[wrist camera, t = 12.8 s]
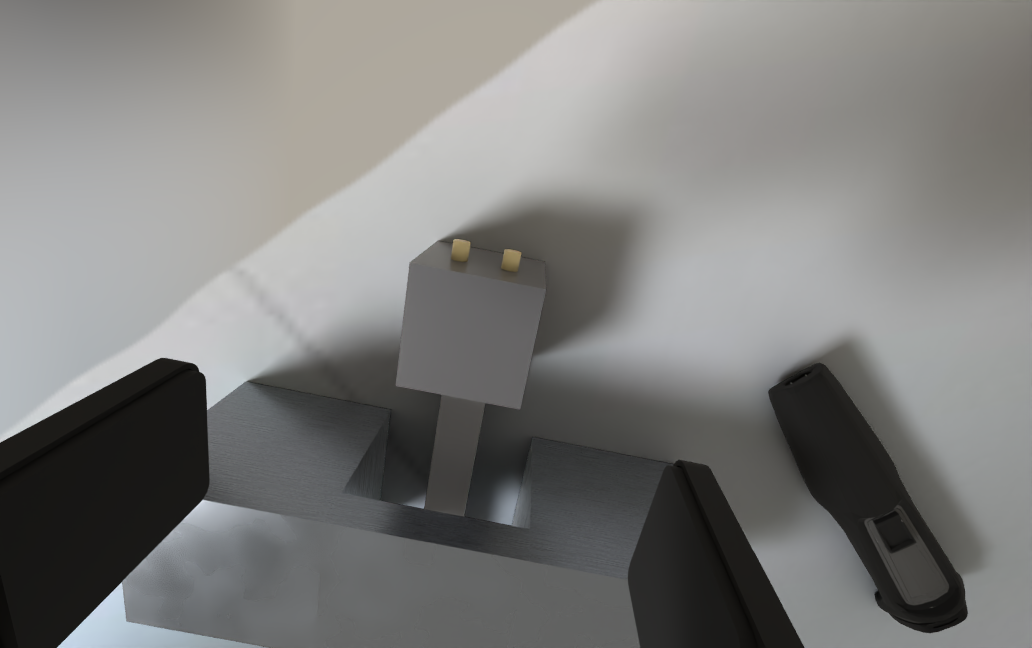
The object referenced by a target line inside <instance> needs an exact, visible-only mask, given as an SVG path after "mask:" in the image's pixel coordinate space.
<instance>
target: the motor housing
mask: <svg viewBox="0 0 1032 648" xmlns="http://www.w3.org/2000/svg"><path fill="white" fill-rule="evenodd" d="M390 414H391V409H386V408H380V407H375V406H370V405H365V404H360V403H355V402H349V401H344V400H339V399H334V398H329V397H324V396H318V395H313V394H308V393H303V392H298V391H293V390H287V389H282V388H277V387H272V386H267V385H262V384H256V383H251V382H245V383H243V384H242V385H241V386H239V387H238V388H237V389H235V390H234V391H233V392H231V393H230V394H229V395H227V396H226V397H225V398H223V399H222V400H221V401H219V402H218V403H217V404H215V405H214V406H213V407H211V408H210V409H209V410H207V426H208V451H209V477H210V483H209V488H208V491H207V493H206V495H205V497H204V499H203V500H202V501H201V502H200V503H199V504H198V505H197V506H196V507H195V508H194V509H193V510H192V511H191V512H190V513H189V514H188V515H187V516H186V517H185V518H184V520H183V521H182V522H181V523H180V524H179V525H178V526H177V527H176V528H175V529H174V530H173V531H172V532H171V533H170V534H169V535H168V536H167V537H166V538H165V539H164V540H163V541H162V542H161V543H160V544H159V545H158V546H157V547H156V548H155V549H154V550H153V551H152V552H151V553H150V554H149V555H148V556H147V557H146V558H145V559H144V560H143V561H142V562H141V563H140V564H139V565H138V566H137V567H136V568H135V569H134V570H133V571H132V572H131V573H130V574H129V575H128V576H127V577H126V578H125V579H124V580H123V581H122V585H123V594H124V603H125V612H126V621H127V622H133V623H138V624H143V625H149V626H154V627H160V628H165V629H171V630H176V631H182V632H187V633H193V634H198V635H203V636H209V637H214V638H220V639H225V640H231V641H236V642H242V643H247V644H253V645H258V646H263V647H269V648H640V644H639V638H638V633H637V628H636V623H635V618H634V612H633V607H632V602H631V597H630V592H629V586H628V569H629V565H630V562H631V559H632V556H633V553H634V551H635V548H636V545H637V542H638V539H639V537H640V534H641V531H642V528H643V526H644V523H645V520H646V517H647V515H648V512H649V509H650V506H651V503H652V501H653V498H654V495H655V492H656V490H657V487H658V484H659V481H660V478H661V476H662V473H663V470H664V468H665V467H666V466H667V465H670V466H673V465H674V464H670V463H665V462H660V461H655V460H649V459H644V458H639V457H634V456H629V455H624V454H618V453H613V452H608V451H603V450H598V449H592V448H587V447H582V446H577V445H572V444H567V443H561V442H556V441H551V440H546V439H541V438H536V437H532V441H531V445H530V449H529V454H528V458H527V462H526V466H525V471H524V475H523V479H522V483H521V487H520V492H519V496H518V500H517V504H516V509H515V513H514V517H513V521H512V526H511V525H506V524H500V523H495V522H490V521H485V520H479V519H474V518H469V517H464V516H458V515H453V514H448V513H442V512H437V511H432V510H427V509H421V508H416V507H411V506H406V505H400V504H395V503H390V502H385V501H380V498H381V490H382V482H383V473H384V465H385V456H386V448H387V439H388V431H389V423H390Z"/></svg>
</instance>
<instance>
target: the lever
mask: <svg viewBox="0 0 1032 648" xmlns="http://www.w3.org/2000/svg"><path fill="white" fill-rule="evenodd" d="M470 244H471V242H469V241H466V240H461V239H454V240H453V244H452V243H447V242H442V241H437V242H436V243H434V244H433V245H432V246H431V247H429V248H428V249H427V250H425V251H424V252H423V253H422V254H420V255H419V256H418V257H416V258H415V259H414V260H413V261H411V262H410V265H409V274H408V282H407V291H406V300H405V308H404V317H403V326H402V334H401V343H400V351H399V360H398V369H397V377H396V386H399V387H404V388H409V389H415V390H420V391H425V392H430V393H435V394H441V402H440V408H439V415H438V421H437V428H436V434H435V441H434V448H433V454H432V461H431V467H430V474H429V480H428V487H427V493H426V500H425V507H424V509H427V510H432V511H437V512H442V513H448V514H453V515H458V516H464V515H465V510H466V505H467V499H468V494H469V489H470V483H471V478H472V473H473V468H474V462H475V457H476V452H477V446H478V441H479V436H480V430H481V425H482V420H483V414H484V409H485V404H486V403H488V404H493V405H498V406H503V407H509V408H514V409H519V410H520V409H521V404H522V399H523V395H524V390H525V386H526V381H527V376H528V372H529V367H530V363H531V358H532V353H533V349H534V344H535V339H536V335H537V330H538V326H539V321H540V316H541V312H542V307H543V303H544V298H545V293H546V272H545V262H544V261H539V260H534V259H529V258H524V257H521V252H519V251H516V250H512V249H505V250H504V254H503V253H498V252H493V251H488V250H483V249H478V248H473V247H470Z"/></svg>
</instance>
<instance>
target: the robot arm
mask: <svg viewBox="0 0 1032 648" xmlns="http://www.w3.org/2000/svg"><path fill="white" fill-rule="evenodd" d="M209 483H210V477H209V451H208V426H207V400H206V380H205V376H204V374H202V373H201V372H199V369H198V367H197V366H196V365H195V364H193V363H188V362H183V361H178V360H173V359H168V358H160V359H157V360H155V361H153V362H151V363H150V364H148V365H146V366H144V367H142V368H140V369H138V370H136V371H134V372H133V373H131V374H129V375H127V376H125V377H123V378H121V379H119V380H117V381H116V382H114V383H112V384H110V385H108V386H106V387H104V388H102V389H101V390H99V391H97V392H95V393H93V394H91V395H89V396H87V397H85V398H84V399H82V400H80V401H78V402H76V403H74V404H72V405H70V406H68V407H67V408H65V409H63V410H61V411H59V412H57V413H55V414H53V415H52V416H50V417H48V418H46V419H44V420H42V421H40V422H38V423H36V424H35V425H33V426H31V427H29V428H27V429H25V430H23V431H21V432H19V433H18V434H16V435H14V436H12V437H10V438H8V439H6V440H4V441H3V442H1V443H0V648H57V647H58V646H59V645H60V644H61V643H62V642H63V641H64V640H65V639H66V638H67V637H68V636H69V635H70V634H71V633H72V632H73V631H74V630H75V629H76V628H77V627H78V626H79V625H80V624H81V623H82V622H83V621H84V620H85V619H86V618H87V617H88V616H89V615H90V614H91V613H92V612H93V611H94V610H95V609H96V608H97V606H98V605H99V604H100V603H101V602H102V601H103V600H104V599H105V598H106V597H107V596H108V595H109V594H110V593H111V592H112V591H113V590H114V589H115V588H116V587H117V586H118V585H119V584H120V583H121V582H122V581H123V580H124V579H125V578H126V577H127V576H128V575H129V574H130V573H131V572H132V571H133V570H134V569H135V568H136V567H137V566H138V565H139V564H140V563H141V562H142V561H143V560H144V559H145V558H146V557H147V556H148V555H149V554H150V553H151V552H152V551H153V550H154V549H155V548H156V547H157V546H158V545H159V544H160V543H161V542H162V541H163V540H164V539H165V538H166V537H167V536H168V535H169V534H170V533H171V532H172V531H173V530H174V529H175V528H176V527H177V526H178V525H179V524H180V523H181V522H182V521H183V520H184V518H185V517H186V516H187V515H188V514H189V513H190V512H191V511H192V510H193V509H194V508H195V507H196V506H197V505H198V504H199V503H200V502H201V501H202V500H203V499H204V497H205V495H206V493H207V491H208V488H209ZM628 586H629V592H630V597H631V602H632V607H633V612H634V618H635V623H636V628H637V633H638V638H639V644H640V648H804V646H803V644H802V642H801V640H800V638H799V636H798V635H797V633H796V631H795V629H794V627H793V625H792V623H791V621H790V619H789V617H788V615H787V614H786V612H785V610H784V608H783V606H782V604H781V602H780V600H779V598H778V596H777V595H776V593H775V591H774V589H773V587H772V585H771V583H770V581H769V579H768V577H767V575H766V574H765V572H764V570H763V568H762V566H761V564H760V562H759V560H758V558H757V556H756V554H755V553H754V551H753V550H752V548H751V546H750V544H749V542H748V540H747V538H746V536H745V534H744V532H743V531H742V529H741V527H740V525H739V523H738V521H737V519H736V517H735V515H734V513H733V511H732V510H731V508H730V506H729V504H728V502H727V500H726V498H725V496H724V494H723V492H722V490H721V489H720V487H719V485H718V483H717V481H716V479H715V477H714V475H713V473H712V471H711V469H710V468H709V467H708V466H706V465H703V464H698V463H692V462H687V461H682V460H678V461H676V462H675V463H674V465H673V466H670V465H667V466H666V467H665V468H664V470H663V473H662V476H661V478H660V481H659V484H658V487H657V490H656V492H655V495H654V498H653V501H652V503H651V506H650V509H649V512H648V515H647V517H646V520H645V523H644V526H643V528H642V531H641V534H640V537H639V539H638V542H637V545H636V548H635V551H634V553H633V556H632V559H631V562H630V565H629V569H628Z"/></svg>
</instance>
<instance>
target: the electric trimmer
mask: <svg viewBox="0 0 1032 648" xmlns="http://www.w3.org/2000/svg"><path fill="white" fill-rule="evenodd" d="M768 392H769V397H770V401H771V403H772V406H773V408H774V411H775V414H776V416H777V419H778V421H779V423H780V426H781V428H782V430H783V433H784V435H785V437H786V440H787V442H788V444H789V447H790V449H791V451H792V453H793V456H794V458H795V460H796V463H797V465H798V467H799V470H800V472H801V474H802V476H803V478H804V480H805V483H806V485H807V487H808V489H809V491H810V493H811V494H812V496H813V497H814V498H815V500H816V501H817V502H818V503H819V504H820V505H822V506H823V507H824V508H825V509H826V510H827V511H828V512H829V513H830V514H831V515H832V516H833V518H834V519H835V520H836V521H837V522H838V524H839V525H840V526H841V527H842V529H843V530H844V532H845V533H846V535H847V537H848V538H849V540H850V542H851V543H852V545H853V547H854V548H855V550H856V552H857V553H858V555H859V557H860V559H861V560H862V562H863V564H864V565H865V567H866V569H867V570H868V572H869V574H870V575H871V577H872V579H873V581H874V583H875V585H876V587H877V588H878V590H879V591H878V592H876V593H875V599H876V602H877V604H878V606H879V607H880V608H881V609H883V610H884V611H886V612H888V613H889V614H890V615H891V616H892V617H893V618H894V619H895V620H897V621H898V622H899V623H901V624H903V625H905V626H907V627H909V628H912V629H914V630H917V631H921V632H925V633H934V632H939V631H941V630H944V629H947V628H950V627H952V626H955V625H957V624H959V623H960V622H962V621H964V620H965V619H966V617H967V614H968V611H967V606H966V600H965V588H964V584H963V580H962V578H961V576H960V575H959V574H958V573H957V572H956V571H955V569H954V568H953V566H952V564H951V563H950V561H949V559H948V558H947V556H946V555H945V553H944V552H943V550H942V548H941V547H940V545H939V544H938V542H937V540H936V539H935V537H934V536H933V534H932V533H931V531H930V529H929V528H928V526H927V525H926V523H925V521H924V520H923V518H922V517H921V515H920V514H919V512H918V510H917V509H916V507H915V505H914V504H913V502H912V500H911V498H910V496H909V494H908V493H907V491H906V489H905V487H904V485H903V483H902V482H901V480H900V477H899V475H898V472H897V470H896V467H895V465H894V463H893V461H892V460H891V458H890V457H889V455H888V453H887V452H886V450H885V449H884V447H883V445H882V444H881V442H880V441H879V439H878V438H877V436H876V435H875V433H874V432H873V431H872V429H871V428H870V426H869V425H868V423H867V422H866V421H865V419H864V418H863V416H862V415H861V413H860V412H859V410H858V409H857V408H856V406H855V405H854V403H853V402H852V400H851V399H850V397H849V396H848V395H847V393H846V392H845V390H844V389H843V387H842V386H841V384H840V383H839V382H838V380H837V379H836V378H835V377H834V375H833V374H832V373H831V372H830V371H829V369H828V368H827V367H826V366H825V365H823V364H821V363H816V364H814V365H812V366H811V367H809V368H807V369H805V370H803V371H801V372H800V373H798V374H796V375H794V376H792V377H790V378H789V379H787V380H785V381H783V382H781V383H779V384H778V385H776V386H774V387H772V388H771V389H769V391H768Z"/></svg>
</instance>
